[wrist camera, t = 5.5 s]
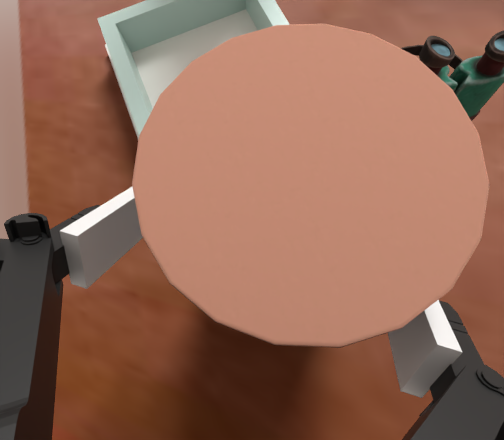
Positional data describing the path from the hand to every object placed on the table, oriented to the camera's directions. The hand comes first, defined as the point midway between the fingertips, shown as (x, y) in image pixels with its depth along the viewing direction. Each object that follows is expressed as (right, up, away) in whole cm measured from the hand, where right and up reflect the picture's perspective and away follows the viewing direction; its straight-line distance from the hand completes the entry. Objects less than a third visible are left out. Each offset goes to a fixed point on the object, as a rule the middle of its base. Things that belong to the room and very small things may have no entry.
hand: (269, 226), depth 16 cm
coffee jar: (+2, -3, +10) cm, 11 cm away
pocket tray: (-5, +15, +15) cm, 22 cm away
